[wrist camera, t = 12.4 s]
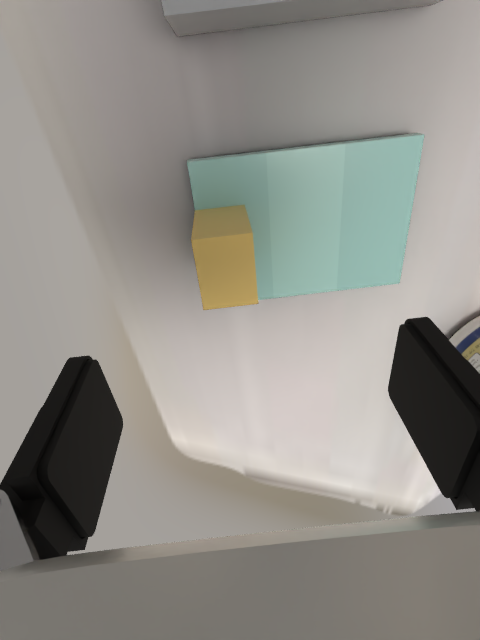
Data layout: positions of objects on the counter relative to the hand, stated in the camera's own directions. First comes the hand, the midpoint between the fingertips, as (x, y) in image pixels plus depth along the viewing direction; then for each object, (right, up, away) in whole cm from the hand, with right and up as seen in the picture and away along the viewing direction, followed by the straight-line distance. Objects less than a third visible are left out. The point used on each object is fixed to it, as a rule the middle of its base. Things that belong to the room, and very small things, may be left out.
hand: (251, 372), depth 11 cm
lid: (+4, +8, +12) cm, 15 cm away
